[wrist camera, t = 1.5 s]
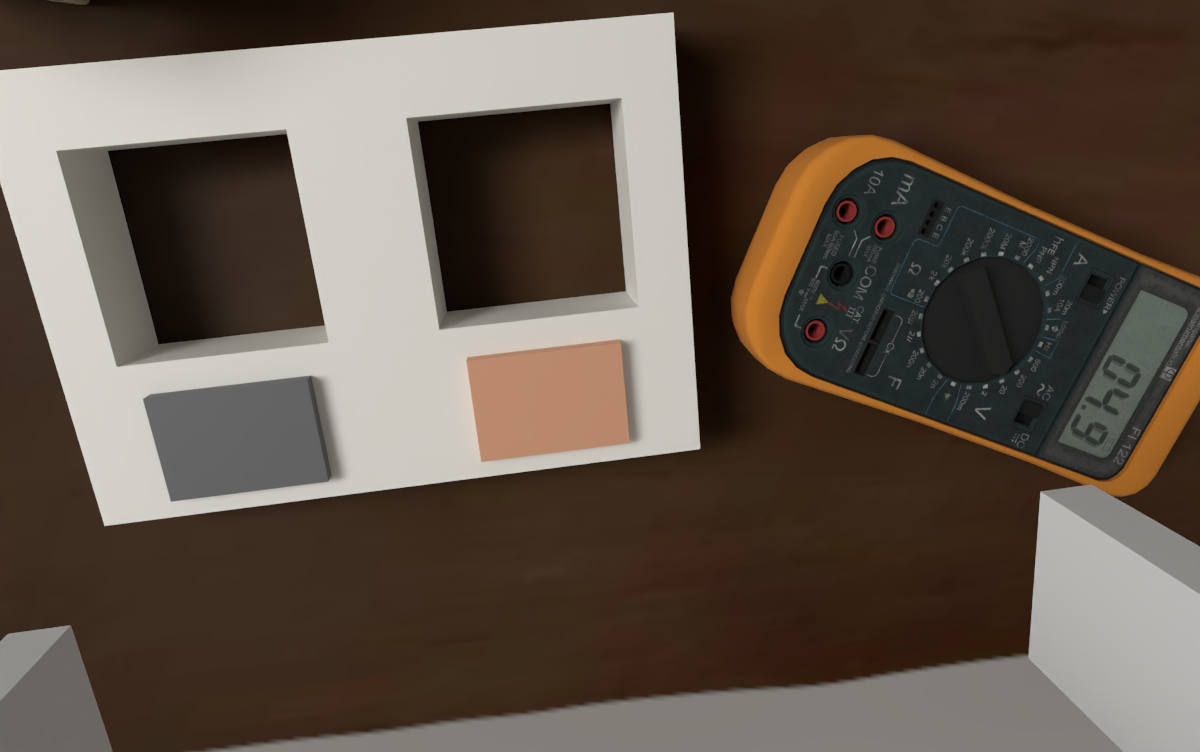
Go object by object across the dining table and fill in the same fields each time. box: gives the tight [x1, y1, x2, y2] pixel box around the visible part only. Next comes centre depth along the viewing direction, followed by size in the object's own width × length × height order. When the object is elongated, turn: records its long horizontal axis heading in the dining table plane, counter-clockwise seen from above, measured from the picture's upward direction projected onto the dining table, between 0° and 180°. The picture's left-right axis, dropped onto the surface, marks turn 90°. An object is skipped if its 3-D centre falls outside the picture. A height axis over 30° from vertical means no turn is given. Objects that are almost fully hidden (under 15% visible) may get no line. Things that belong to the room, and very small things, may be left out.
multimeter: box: [731, 135, 1200, 497], centre depth 29 cm, size 9×18×3 cm, turn 69°
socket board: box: [0, 13, 700, 526], centre depth 26 cm, size 20×14×4 cm
